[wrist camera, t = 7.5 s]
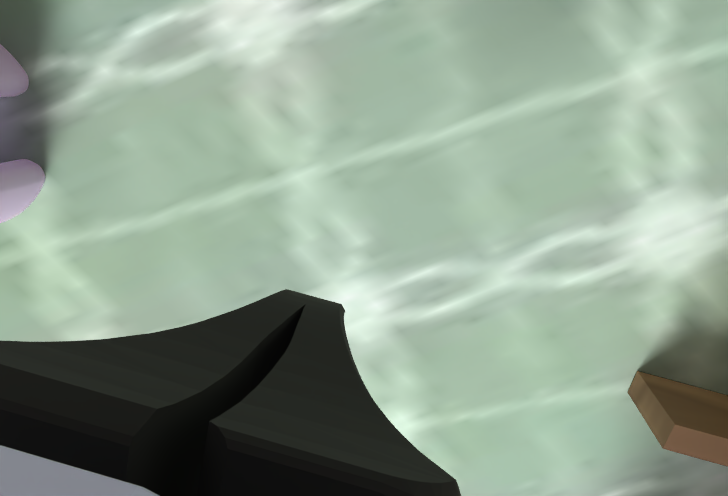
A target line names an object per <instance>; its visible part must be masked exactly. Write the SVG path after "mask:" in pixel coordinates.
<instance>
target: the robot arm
mask: <svg viewBox="0 0 728 496" xmlns="http://www.w3.org/2000/svg"><path fill="white" fill-rule="evenodd" d="M344 313H345V310H344V308H343V306H342V304H339V303H335V302H331V301H328V300H324V299H320V298H317V297H313V296H309V295H306V294H302V293H298V292H295V291H291V290H287V289H286V290H283V291H280V292H277V293H275V294H273V295H270V296H268V297H266V298H263V299H261V300H259V301H256V302H254V303H251V304H249V305H246V306H244V307H241V308H239V309H237V310H234V311H231V312H228V313H225V314H222V315H219V316H216V317H213V318H210V319H207V320H204V321H201V322H198V323H194V324H191V325H187V326H183V327H179V328H174V329H169V330H165V331H160V332H155V333H149V334H141V335H134V336H126V337H118V338H111V339H101V340H86V341H63V342H20V341H0V496H461V494H460V491H459V487H458V484H457V482H456V480H455V479H454V478H453V477H452V476H450V475H449V474H448V473H446V472H445V471H444V470H443V469H441V468H440V467H439V466H437V465H436V464H435V463H434V462H432V461H431V460H430V459H428V458H427V457H426V456H425V455H423V454H422V453H421V452H420V451H419V450H417V449H416V448H415V447H414V446H413V445H412V444H411V443H410V442H409V441H408V440H407V439H406V438H405V437H404V436H403V435H402V434H401V433H400V432H399V431H398V430H397V429H396V428H395V427H394V426H393V424H392V423H391V422H390V421H389V420H388V419H387V417H386V416H385V415H384V414H383V412H382V411H381V410H380V408H379V407H378V406H377V405H376V403H375V402H374V400H373V399H372V397H371V396H370V394H369V392H368V390H367V389H366V387H365V385H364V383H363V381H362V379H361V377H360V375H359V372H358V370H357V367H356V365H355V362H354V360H353V357H352V354H351V351H350V348H349V344H348V340H347V337H346V332H345V326H344Z"/></svg>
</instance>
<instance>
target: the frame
mask: <svg viewBox="0 0 728 496" xmlns="http://www.w3.org/2000/svg"><path fill="white" fill-rule="evenodd" d="M628 394H629V395H630V397H631V398H632V400H633V402H634V403H635V405H636V406H637V408H638V410H639V411H640V413H641V414H642V416H643V418H644V419H645V421H646V422H647V424H648V426H649V427H650V429H651V430H652V432H653V434H654V435H655V437H656V438H657V440H658V442H659V443H660V445H661V446H662V448H663V449H666V450H670V451H674V452H677V453H681V454H684V455H688V456H692V457H695V458H699V459H702V460H706V461H710V462H713V463H717V464H721V465H724V466H728V395H724V394H720V393H717V392H713V391H709V390H705V389H702V388H698V387H694V386H691V385H687V384H683V383H680V382H676V381H672V380H669V379H665V378H661V377H658V376H654V375H650V374H646V373H643V372H639V371H637V373H636V375H635V377H634V379H633V381H632V384H631V386H630V388H629V390H628Z"/></svg>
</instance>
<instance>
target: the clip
mask: <svg viewBox="0 0 728 496" xmlns="http://www.w3.org/2000/svg"><path fill="white" fill-rule="evenodd" d="M28 86H29V79H28V75H27V73H26V72H25V70H24V69H23V68H22V66H21V65H20V64H19V63H18V61H17V60H16V59H15V58H14V57H13V56H12V55H11V54H10V53H9V52H8V51H7V50H6V49H5V48H4V47H3V46H2V45H1V44H0V97H15V96H18V95H20V94H22V93H24V92H25V91H26V90H27V88H28ZM44 182H45V174H44V171H43V169H42V168H41V167H40V166H39V165H38V164H36V163H35V162H32V161H30V160H27V159H19V160H14V161H8V162H3V163H0V223H2V222H5V221H7V220H10V219H12V218H14V217H15V216H17V215H19V214H20V213H21V212H23V211H24V210H25V209H26V208H27V207H29V205H30V204H31V203H32V202H33V201H34V200H35V198H36V197H37V195H38V194H39V192H40V190H41V188H42V186H43V184H44Z"/></svg>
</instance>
